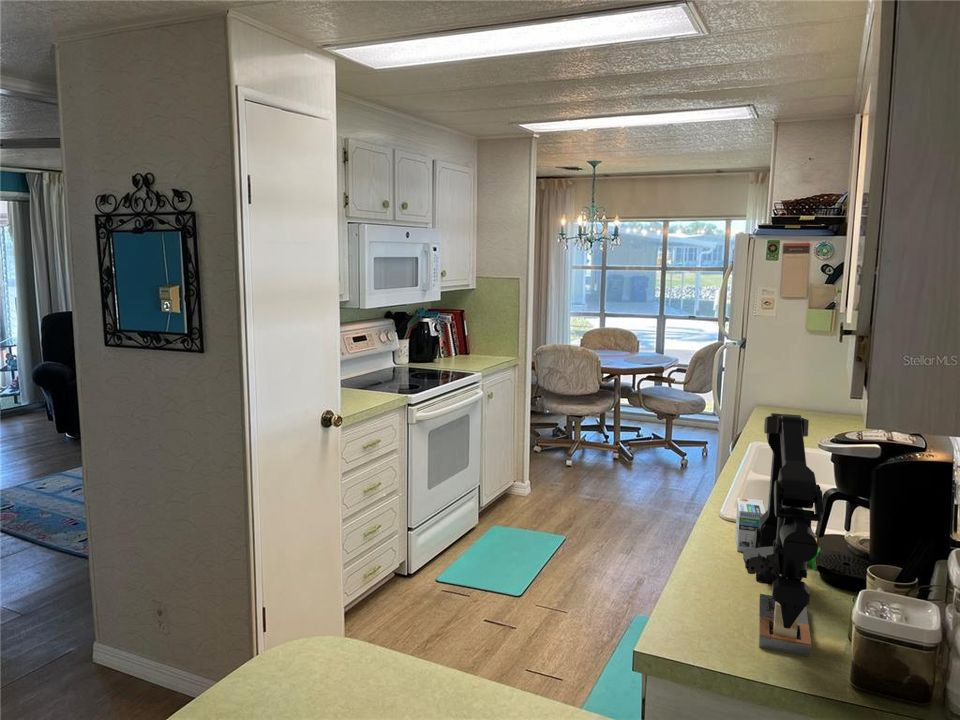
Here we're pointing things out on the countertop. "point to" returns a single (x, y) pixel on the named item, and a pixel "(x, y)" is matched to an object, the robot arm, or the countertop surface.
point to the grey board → (780, 642)
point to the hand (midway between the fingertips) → (785, 616)
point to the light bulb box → (747, 522)
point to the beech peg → (778, 624)
